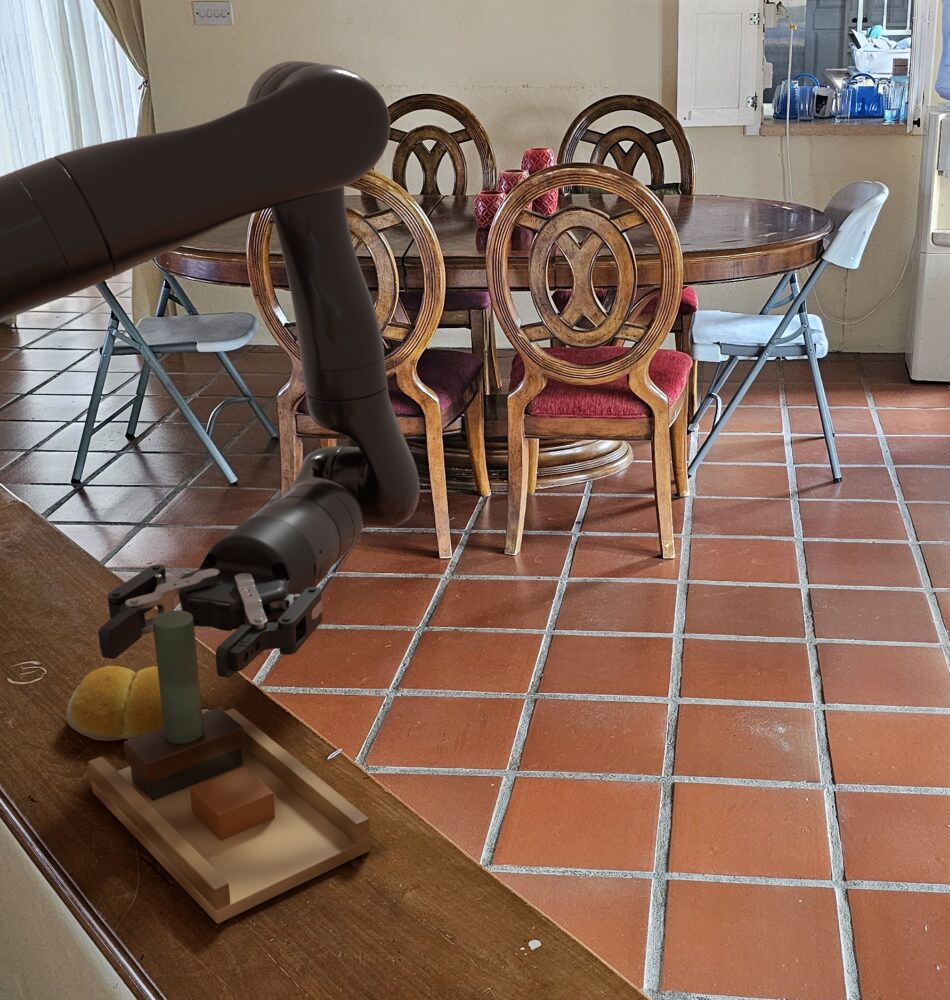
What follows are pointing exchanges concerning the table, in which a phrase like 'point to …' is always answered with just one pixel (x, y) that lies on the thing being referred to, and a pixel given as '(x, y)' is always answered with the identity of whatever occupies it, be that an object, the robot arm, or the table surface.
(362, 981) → the table surface
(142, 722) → the bread roll
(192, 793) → the brown block
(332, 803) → the tray
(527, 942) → the table surface
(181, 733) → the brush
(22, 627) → the table surface
